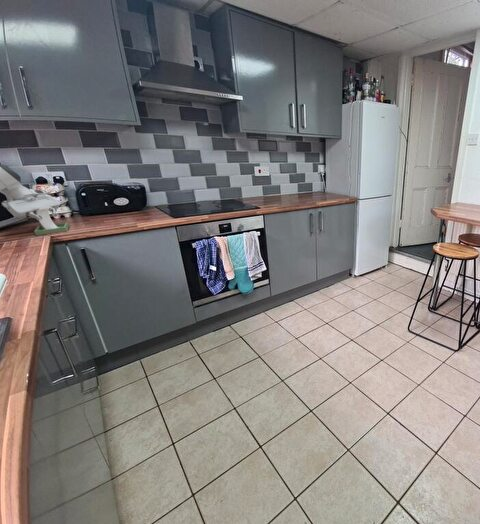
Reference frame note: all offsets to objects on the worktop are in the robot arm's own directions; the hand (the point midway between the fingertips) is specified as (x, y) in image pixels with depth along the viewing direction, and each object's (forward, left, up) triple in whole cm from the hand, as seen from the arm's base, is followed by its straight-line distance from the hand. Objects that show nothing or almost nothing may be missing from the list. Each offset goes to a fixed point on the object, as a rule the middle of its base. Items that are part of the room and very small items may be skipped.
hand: (48, 217), depth 149 cm
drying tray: (0, 0, -7) cm, 7 cm away
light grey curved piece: (-1, 0, -7) cm, 7 cm away
